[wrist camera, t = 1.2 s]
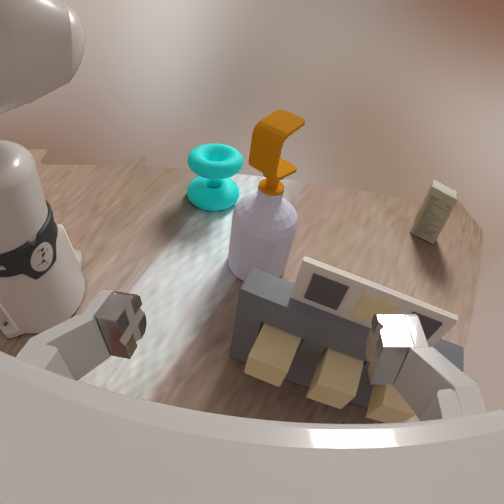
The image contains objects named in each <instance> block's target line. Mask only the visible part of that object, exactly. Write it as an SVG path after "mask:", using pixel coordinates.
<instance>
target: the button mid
mask: <svg viewBox="0 0 504 504" xmlns="http://www.w3.org/2000/svg"><path fill="white" fill-rule="evenodd" d="M363 364H364V360H361V359H358V358H355V357H353V356H350V355H347V354H344V353H342V352H339V351H336V350H333V349H331V348H328V347H326V349H325V350H324V352H323V353H322V355H321V356H320V358H319V361H318V364H317V367H316V370H315V373H314V376H313V379H312V382H311V385H310V388H309V390H308V393H307V396H306V397H307V398H310V399H312V400H315V401H318V402H321V403H324V404H327V405H330V406H333V407H336V408H339V409H342V408H343V407H344V406H345V405H346V404H347V403H349V402H350V401H351V400H352V399H353V398H354V397H355V396H356V393H357V389H358V385H359V381H360V377H361V372H362V368H363Z"/></svg>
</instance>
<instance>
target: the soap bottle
mask: <svg viewBox="0 0 504 504" xmlns="http://www.w3.org/2000/svg"><path fill="white" fill-rule="evenodd" d="M304 124H305V120H304V119H303V118H301V117H299V116H296V115H294V114H292V113H290V112H287V111H285V110H277V111H275V112H273V113H272V114H270V115H268V116H267V117H265V118H264V119H262V120H261V121H259V122H258V124H257V125H256V126H255V128H254V130H253V134H252V141H251V148H250V155H249V165H250V166H252V167H254V168H256V169H257V170H259V171H261V172H262V173H263V175H264V176H265V177H266V178H267V179H263V180H261V181H260V183H259V187H258V192H257V193H253V194H250V195H247V196H245V197H243V198H241V200H240V201H239V202H238V203H237V205H236V206H235V208H234V211H233V218H232V227H231V236H230V245H229V255H228V264H229V267H230V270H231V271H232V272H233V274H234V275H235V276H236V277H237V278H239V279H241V280H242V281H245V280H246V278H247V276H248V274H249V273H250V271H251V269H252V267H253V268H256V269H258V270H261V271H263V272H266V273H268V274H271V275H273V276H276V277H281V276H282V274H283V272H284V270H285V267H286V264H287V260H288V257H289V254H290V250H291V247H292V243H293V240H294V236H295V233H296V229H297V226H298V221H297V213H296V211H295V209H294V207H293V206H292V205H291V204H290V203H289V202H288V201H286V200H285V199H284V198H283V192H284V185H283V184H282V183H281V182H280V181H279V180H282V179H284V177H286V176H288V175H291V174H292V173H295V172H296V169H297V167H296V166H295V165H293V164H291V163H289V162H287V161H285V160H284V159H282V158H280V154H281V149H282V146H283V143H284V141H285V140H286V139H287V138H288V136H290V135H291V134H292V133H293V132H295V131H296V130H298V129H299V128H301V127H302V126H303V125H304Z"/></svg>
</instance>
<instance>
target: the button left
mask: <svg viewBox="0 0 504 504" xmlns="http://www.w3.org/2000/svg"><path fill="white" fill-rule="evenodd" d="M300 340H301V337H299V336H297V335H294V334H291V333H289V332H286V331H284V330H281V329H279V328H276V327H274V326H271V325H269V324H266V323H264V325H263V327H262V329H261V331H260V333H259V335H258V337H257V339H256V341H255V343H254V345H253V347H252V349H251V351H250V354H249V356H248V359H247V363H246V366H245V370H244V373H246V374H248V375H251V376H253V377H255V378H258V379H260V380H263V381H265V382H268V383H270V384H273V385H275V386H278V387H280V385H281V383H282V382H283V380H284V378H285V376H286V375H287V373H288V370H289V368H290V365H291V363H292V360H293V358H294V355H295V353H296V350H297V347H298V345H299V342H300Z"/></svg>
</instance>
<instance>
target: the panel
mask: <svg viewBox="0 0 504 504" xmlns="http://www.w3.org/2000/svg"><path fill="white" fill-rule="evenodd" d="M374 314H416V315H418V318H419V320H420V323H421V326H422V329H423V331H424V334H425V337H426V340H427V343H428V346H429V347H433V348H435V349H436V350H437V351H438V352H439V353H441V354H442V355H443V356H444V357H445V358H446V359H448V360H449V361H450V362H451V363H452V364H454V365H455V366H456V367H457V368H458V369H459V370H461V371H462V372H463V347H461V346H458V345H456V344H453V343H450V342H448V341H445V340H442V339H441V338H442V337H443V336H444V335H445V334H446V333H447V332H448V331H449V330H450V329H451V328H452V327H453V326H454V325H455V323H456V322H457V321H458V316H457V315H455V314H452V313H450V312H447V311H445V310H442V309H440V308H437V307H435V306H432V305H430V304H427V303H425V302H422V301H420V300H417V299H415V298H412V297H410V296H407V295H405V294H402V293H400V292H397V291H395V290H392V289H389V288H387V287H384V286H382V285H379V284H377V283H374V282H371V281H369V280H366V279H364V278H361V277H359V276H356V275H353V274H351V273H348V272H346V271H343V270H340V269H338V268H335V267H333V266H330V265H327V264H325V263H322V262H320V261H317V260H314V259H312V258H309V257H306V256H304V259H303V261H302V264H301V267H300V270H299V273H298V276H297V279H296V282H295V284H294V283H291V282H289V281H286V280H284V279H281V278H279V277H276V276H273V275H271V274H268V273H266V272H263V271H261V270H258V269H256V268H253V267H252V269H251V271H250V273H249V274H248V276H247V278H246V280H245V281H244V283H243V285H242V286H241V288H240V293H239V299H238V306H237V312H236V318H235V325H234V331H233V338H232V344H231V350H230V357H232V358H235V359H237V360H239V361H242V362H244V363H247V359H248V356H249V354H250V351H251V349H252V347H253V345H254V343H255V341H256V339H257V337H258V335H259V333H260V331H261V329H262V327H263V325H264V323H266V324H269V325H271V326H274V327H276V328H279V329H281V330H284V331H286V332H289V333H291V334H294V335H297V336H299V337H302V338H301V340H300V342H299V345H298V347H297V350H296V353H295V355H294V358H293V360H292V363H291V365H290V368H289V370H288V373H287V375H286V376H285V378H284V379H286V380H288V381H291V382H294V383H296V384H299V385H302V386H304V387H307V388H310V385H311V382H312V379H313V376H314V373H315V370H316V367H317V364H318V361H319V358H320V356H321V355H322V353H323V352H324V350H325V349H326V347H328V348H331V349H333V350H336V351H339V352H342V353H344V354H347V355H350V356H353V357H355V358H358V359H361V360H364V364H363V368H362V372H361V377H360V381H359V385H358V389H357V393H356V396H355V397H354V398H353V399H352V400H351V401H350V403H353V404H356V405H359V406H362V407H366V408H368V405H369V401H370V397H371V392H372V388H373V384H370V381H369V374H368V368H369V365H370V362H369V361H368V360H367V359H366V341H367V337H368V333H369V332H370V331H371V330H372V324H371V322H372V319H373V316H374Z"/></svg>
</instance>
